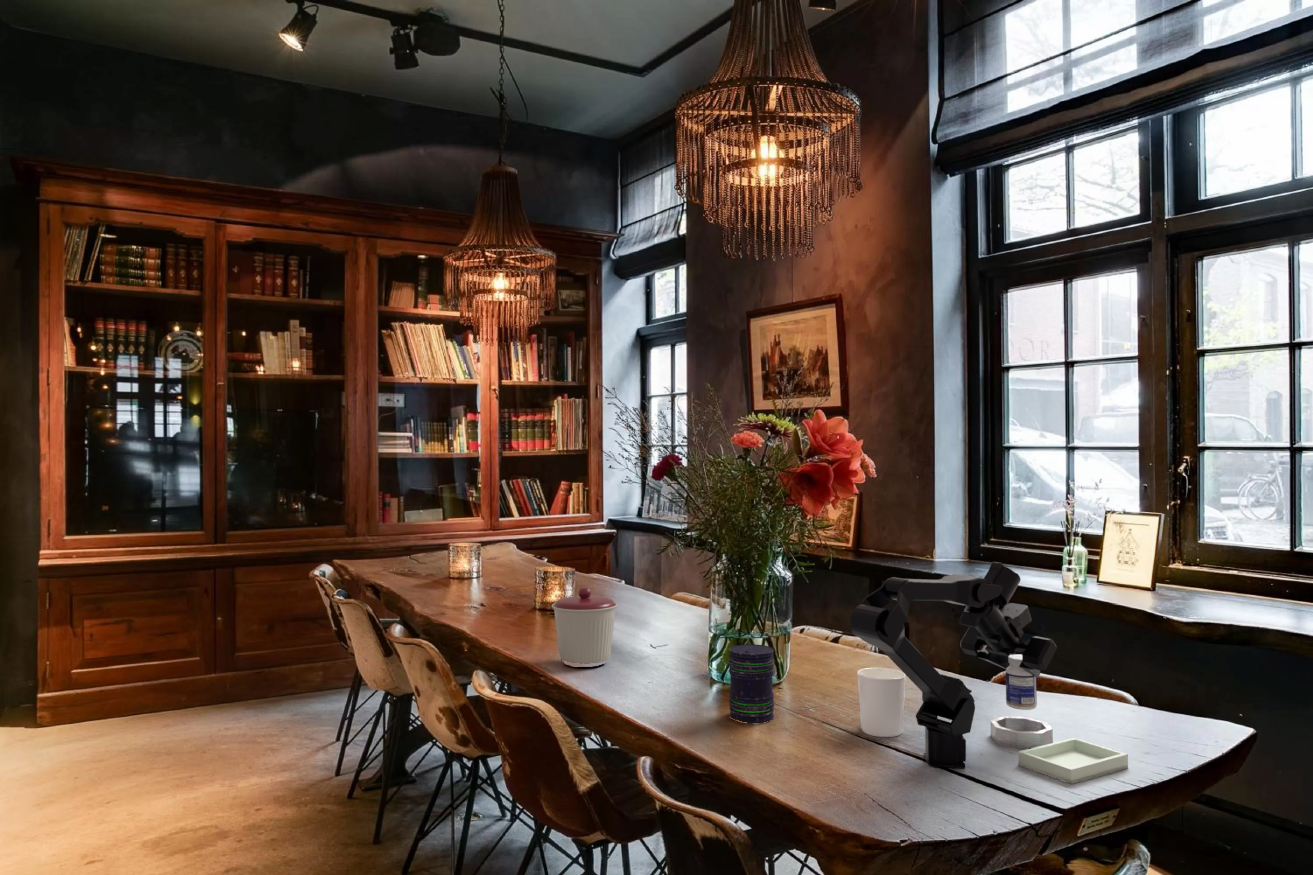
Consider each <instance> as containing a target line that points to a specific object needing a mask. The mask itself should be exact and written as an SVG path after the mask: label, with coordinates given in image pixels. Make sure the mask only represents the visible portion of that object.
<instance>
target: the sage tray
mask: <svg viewBox="0 0 1313 875" xmlns="http://www.w3.org/2000/svg"><path fill="white" fill-rule="evenodd" d="M1017 755H1018V758H1017V759H1018V760H1017V761H1018V766H1020V767H1022V766H1023V768H1026V769H1029V770H1031V771H1033V770H1034V772H1037V773H1039V774H1043V775H1045V776H1047V775H1048V777H1050V776H1051V778H1053V777H1054V778H1053V779H1056V778H1058V779H1060V780H1059V781H1061V780H1063V781H1062V782H1064V781H1065V783H1067V782H1068V783H1067V784H1070V783H1071V784H1070V785H1073V784H1072V783H1074V784H1077V782H1078V783H1080V782H1085V781H1088V780H1091V779H1094V778H1098V777H1101V776H1105V775H1109V774H1111V773H1115V772H1118V771H1122V770H1125V769H1128V768H1129V755H1128V753H1127V752H1126V753H1125V752H1122V751H1118V750H1115V749H1113V748H1109V747H1106V746H1102V745H1099V744H1096V743H1093V742H1089V741H1086V740H1083V739H1080V738H1077V737H1071V738H1067V739H1062V740H1059V741H1055V742H1053V743H1051V744H1047V745H1043V746H1039V747H1035V748H1031V749H1029V748H1026V749H1024V750H1019V751H1018V752H1017ZM1058 779H1057V780H1058Z"/></svg>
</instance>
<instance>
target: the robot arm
mask: <svg viewBox="0 0 1313 875" xmlns="http://www.w3.org/2000/svg"><path fill="white" fill-rule="evenodd" d="M1021 580H1022V579H1021V577H1020V575H1019V574H1018V573H1017V572H1015V571H1014V570H1013V569H1011V568H1009V567H1008V566H1005V565H1004V564H1003V563H1002V562H997V561H992V563H991V564H990V566H989V569H988V571H987V573H986V574H985V575H984V577H980V576H973V575H972V576H971V575H966V574H965V575H964V574H957V573H954V574H948V575H944V576H943V577H942V578H940V579H925V578H924V579H921V578H916V579H915V578H901V577H895V576H893V577H890V578H887V579H885V580H884V581H883V583H882V585H881V586H880V587H878V588H877V589H876V590H874V591H873V592H871V593H870V594H868V595H866V596H865V597H864V598H863V599H862V600H861V601H860V602H859V604H858V605H857V606H856V607H855V608H854V609H853V611H852V613H851V614H850V619H849V620H850V625H849V629H850V631H851V633H852V634H854V635H855V636H856V637H858V638H859V639H860V640H862V641H864V642H866V643H867V644H869V645H871V646H874V647H875V648H877V649H879V650H880V651H882V652H883V653H884V655H886V656H887V657H888V658H889V659H890V661H891V662H893V663H894V664H895V665H896V667H898V668H899V669H900V671H902V672H904V674H905V675H906V677H907V678H908V679H909V680H910V681H911V682H912V683H913V684H914V685H915V686H916V687H917V689H918V690H920V692H921V694H922V695H921V700H922V704H921V706H920V708H919V709H918V711H917V712H916V714H915V719H916V722H917V726H923V727H924V730H925V731H924V736H925V738H924V740H925V741H924V742H925V749H924V750H925V751H924V752H923V757H924V759H925V761H926V763H927V765H928V767H932V768H956V769H957V768H960V769H961V768H962V769H964V768H965V769H966V763H965V762H966V761H967V740H966V738H965V737H964V736H963V735H965V734H970V733H971V731H972V730H971V729H972V726H973V721H974V716H975V712H976V704H975V699H974V696H973V695H972V692H973V690H972V689H969V688H968V687H966V684H965V683H964V681H962V680H961V679H960V678H957V677H953V676H950V675H946V674H941V673H939V671H938V670H937V669H936V668H935V667H934V666H933V665H932V664H931V663H930V661H929V660H927V659H926V657H925V656H924V655H923V654H922V653H921V652H920V651H919V650H918V649H917V648H916V647H915V646H914V645H913V643H912V642H910V640H908V638H907V637H906V636H905V635H906V634H905V630H906V629H905V623H906V622H907V621H908V618H909V615H910V614H909V612H910V605H911V604H912V602H913V601H915V602H916V601H917V602H920V601H921V602H922V601H923V602H926V601H927V602H928V601H933V602H946V603H950V604H952V605H954V604H955V605H960V606H965V608H964V610H963V611H961V616H960V618H959V625H963V626H965V627H966V626H967V627H968V629H967V631H966V632H965V633H964V635H963V637H962V639H961V640H960V645H959V646H960V649H961V650H962V651H963V653H964V654H965V655H969V656H973V657H977V658H978V659H981V660H983V661H985V662H989V663H990V664H992V665H995V666H998V667H1000V668H1002V669H1004V670H1006V668H1007V667H1008V666H1010V663H1009V662H1008V656H1009V655H1016V653H1021V654H1020V655H1022V662H1021V664H1020V665H1019V667H1020V668H1022V669H1023V670H1025V671H1027V672H1028V673H1030V674H1031V675H1033V676H1035V677H1036V679H1037V678H1039V677H1040V675H1041V672H1042V671H1045V670H1047V669H1048V667H1049V664H1050V663H1051V661H1052V659H1053V657H1054V655H1055V653H1056V652H1057V649H1058V647H1057V645H1056V643H1055V641H1054V640H1053V639H1052V638H1048V637H1041V636H1037V635H1036V636H1035V635H1034V636H1032V637H1031V638H1030V639H1027V640H1022V639H1019V638H1022V637H1023V635H1024V633H1025V632H1024V631H1023V628H1024V627H1026V626H1027V625H1028V624H1030V623H1031V622H1032V620H1033V619H1032V617H1031V616H1032V615H1031V613H1030V610H1029V609H1030V608H1029V606H1028V605H1026V604H1020V603H1014V602H1010V600H1011V598H1012V596H1013V595H1014V593H1015V592H1016V589H1018V586H1019V584H1020V583H1021ZM893 600H895V601H896V604H895V605H894V607H893V608H892V609H888V608H885V606H887V605H889V604H890V603H891V602H892V601H893ZM938 717H941V718H943V719H940V718H938ZM945 719H947V720H948V721H947V720H945ZM949 720H950V721H951V722H950V721H949Z"/></svg>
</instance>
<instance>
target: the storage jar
mask: <svg viewBox="0 0 1313 875" xmlns="http://www.w3.org/2000/svg"><path fill="white" fill-rule="evenodd" d="M728 650H729V651H728V653H729V655H728V656H729V658H728V666H729V667H728V668H729V669H728V672H729V673H728V674H729V675H730V690H729V701H728V705H729V712H730V713H729V718H730V717H731V718H733V719H735V720H739V721H742V722H747V723H762V724H765V723H764V722H767V721H770V720H772V721H774V719H775V714H774V710H775V700H774V699H775V696H774V695H775V693H774V692H773V691H774V690H773V687H774V686H773V677H774V675H775V674H774V673H775V670H774V666H775V661H774V648H773V647H771V646H768V645H763V644H755V643H754V644H752V643H751V644H750V643H749V644H748V643H746V644H745V643H744V644H735V645H731V646H730V647H729V649H728ZM773 718H774V719H773ZM770 722H771V721H770Z"/></svg>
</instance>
